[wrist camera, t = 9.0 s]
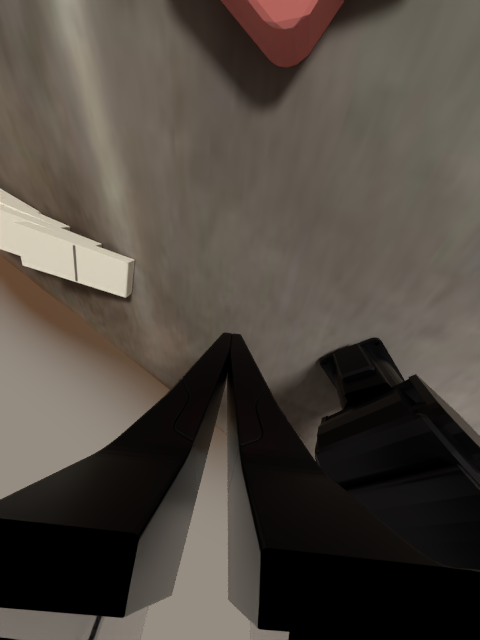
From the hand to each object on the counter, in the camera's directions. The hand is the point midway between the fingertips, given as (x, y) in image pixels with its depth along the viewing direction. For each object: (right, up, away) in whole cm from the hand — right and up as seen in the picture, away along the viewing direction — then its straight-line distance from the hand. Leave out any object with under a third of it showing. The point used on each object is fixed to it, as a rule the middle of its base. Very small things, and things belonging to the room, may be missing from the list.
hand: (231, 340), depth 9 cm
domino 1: (-14, +6, +15) cm, 22 cm away
